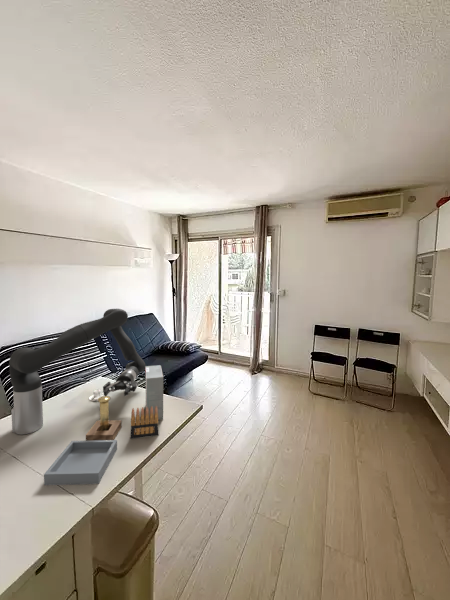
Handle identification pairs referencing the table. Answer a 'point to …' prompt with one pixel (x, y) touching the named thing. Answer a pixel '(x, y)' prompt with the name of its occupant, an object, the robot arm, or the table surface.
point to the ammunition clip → (144, 423)
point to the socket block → (104, 435)
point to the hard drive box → (154, 389)
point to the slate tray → (81, 463)
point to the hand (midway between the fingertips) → (115, 394)
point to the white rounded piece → (95, 395)
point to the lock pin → (104, 413)
